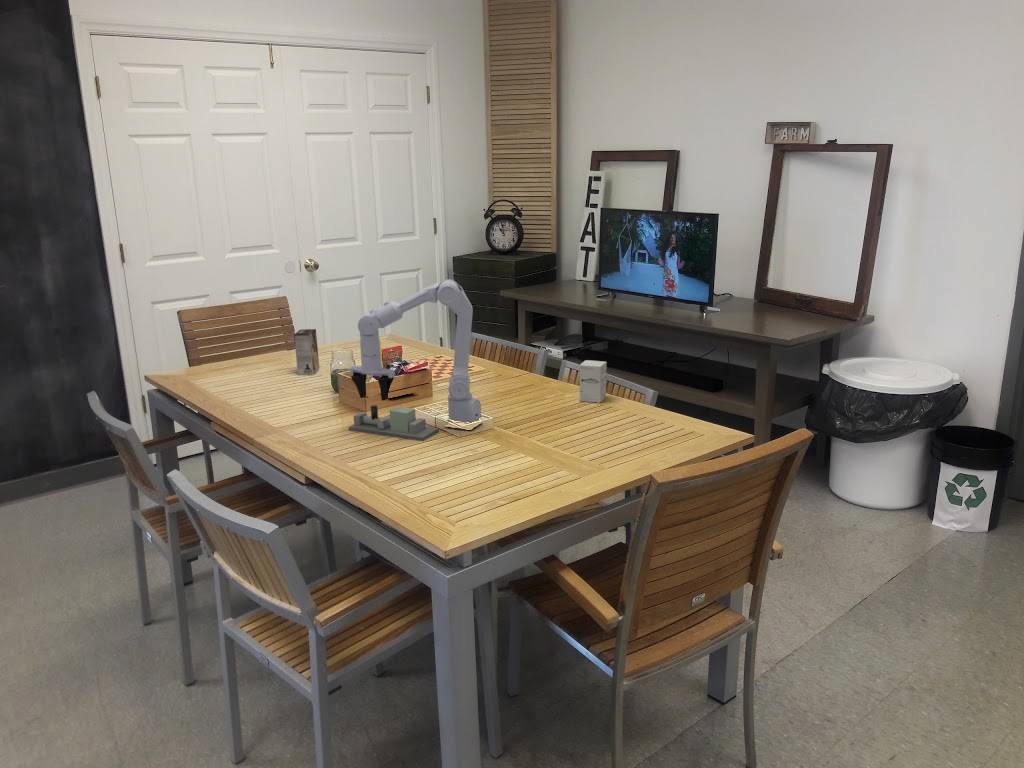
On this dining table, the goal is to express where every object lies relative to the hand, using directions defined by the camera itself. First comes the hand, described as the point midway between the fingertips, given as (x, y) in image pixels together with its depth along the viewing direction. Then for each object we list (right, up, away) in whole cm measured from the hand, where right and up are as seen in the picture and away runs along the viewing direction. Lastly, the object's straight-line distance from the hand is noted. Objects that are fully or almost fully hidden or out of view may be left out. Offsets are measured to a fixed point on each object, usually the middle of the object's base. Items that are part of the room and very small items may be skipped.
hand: (373, 398), depth 245 cm
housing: (+9, -9, -2) cm, 13 cm away
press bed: (+6, -10, 0) cm, 12 cm away
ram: (0, -8, +2) cm, 8 cm away
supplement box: (+68, -1, +27) cm, 73 cm away
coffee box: (-37, +9, +70) cm, 79 cm away
